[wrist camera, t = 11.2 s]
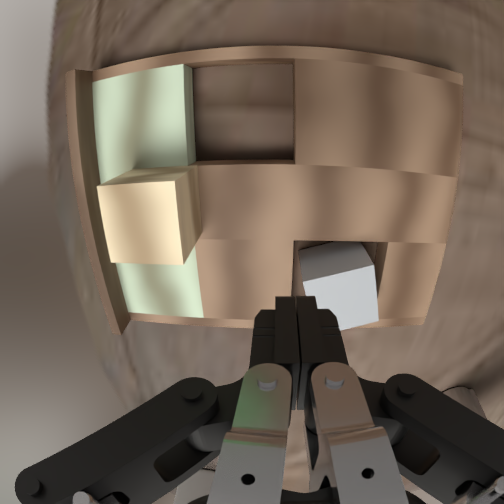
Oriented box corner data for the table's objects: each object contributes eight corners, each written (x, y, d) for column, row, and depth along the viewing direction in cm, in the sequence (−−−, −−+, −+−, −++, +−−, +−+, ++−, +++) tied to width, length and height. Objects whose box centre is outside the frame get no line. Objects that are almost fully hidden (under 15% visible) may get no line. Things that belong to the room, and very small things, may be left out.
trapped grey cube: (356, 236, 26) (373, 264, 21) (364, 286, 28) (378, 320, 23) (298, 250, 27) (302, 281, 22) (310, 299, 29) (315, 335, 24)
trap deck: (448, 75, 19) (479, 72, 14) (415, 310, 29) (431, 340, 25) (97, 75, 21) (65, 72, 17) (131, 305, 31) (112, 333, 27)
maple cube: (197, 165, 22) (174, 181, 17) (202, 233, 24) (183, 265, 19) (132, 169, 22) (96, 186, 17) (140, 232, 25) (111, 262, 20)
